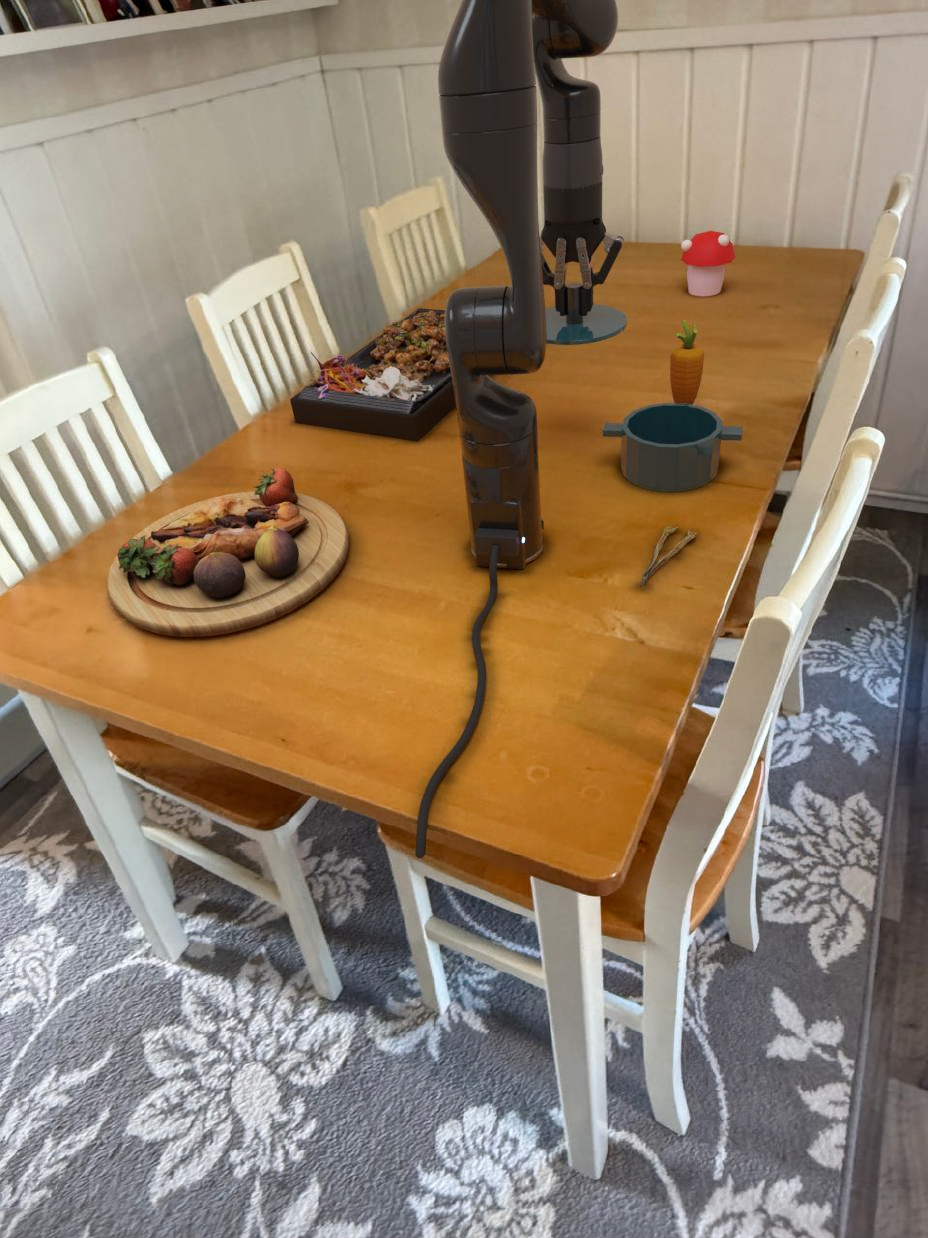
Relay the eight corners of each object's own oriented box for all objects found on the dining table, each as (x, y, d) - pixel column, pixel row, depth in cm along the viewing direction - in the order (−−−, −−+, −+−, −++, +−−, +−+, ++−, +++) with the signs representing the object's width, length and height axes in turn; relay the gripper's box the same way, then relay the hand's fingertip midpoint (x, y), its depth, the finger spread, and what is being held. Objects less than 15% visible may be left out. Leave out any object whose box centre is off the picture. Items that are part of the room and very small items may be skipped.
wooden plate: (249, 483, 132) (235, 434, 127) (399, 541, 115) (390, 488, 110) (64, 587, 114) (39, 535, 109) (210, 676, 97) (189, 619, 92)
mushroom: (668, 290, 182) (671, 230, 175) (710, 278, 186) (715, 219, 178) (699, 302, 175) (704, 241, 167) (742, 290, 178) (749, 229, 170)
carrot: (699, 423, 133) (707, 328, 124) (667, 423, 134) (672, 329, 125) (699, 409, 137) (706, 316, 128) (667, 409, 138) (672, 317, 129)
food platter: (417, 441, 138) (409, 380, 131) (295, 422, 148) (281, 365, 141) (529, 339, 168) (526, 285, 162) (421, 329, 178) (415, 278, 172)
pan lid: (620, 349, 113) (621, 302, 110) (513, 349, 117) (510, 303, 113) (632, 311, 124) (633, 267, 120) (534, 311, 128) (532, 268, 124)
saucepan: (737, 495, 116) (742, 448, 112) (597, 488, 121) (597, 444, 116) (738, 448, 126) (743, 404, 122) (609, 444, 131) (609, 401, 127)
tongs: (632, 585, 102) (633, 571, 101) (666, 533, 111) (667, 520, 110) (666, 593, 101) (667, 579, 99) (698, 540, 110) (699, 526, 108)
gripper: (513, 187, 108) (520, 323, 118) (624, 182, 104) (621, 323, 115) (525, 173, 113) (531, 305, 124) (631, 168, 110) (627, 304, 120)
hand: (574, 313), depth 119 cm, fingers closed on pan lid, 2 cm apart
